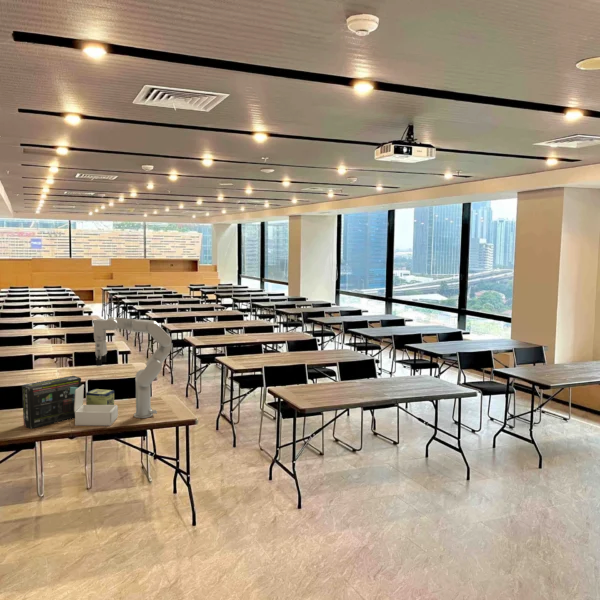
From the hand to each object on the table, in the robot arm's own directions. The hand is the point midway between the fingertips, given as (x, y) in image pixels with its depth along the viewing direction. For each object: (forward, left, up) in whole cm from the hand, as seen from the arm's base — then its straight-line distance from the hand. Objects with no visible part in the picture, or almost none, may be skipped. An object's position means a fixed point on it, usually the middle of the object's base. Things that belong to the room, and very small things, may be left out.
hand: (101, 363), depth 373 cm
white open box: (+2, +6, -37) cm, 38 cm away
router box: (+30, +5, -38) cm, 48 cm away
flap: (+13, +6, -21) cm, 25 cm away
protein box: (+5, -12, -38) cm, 40 cm away
